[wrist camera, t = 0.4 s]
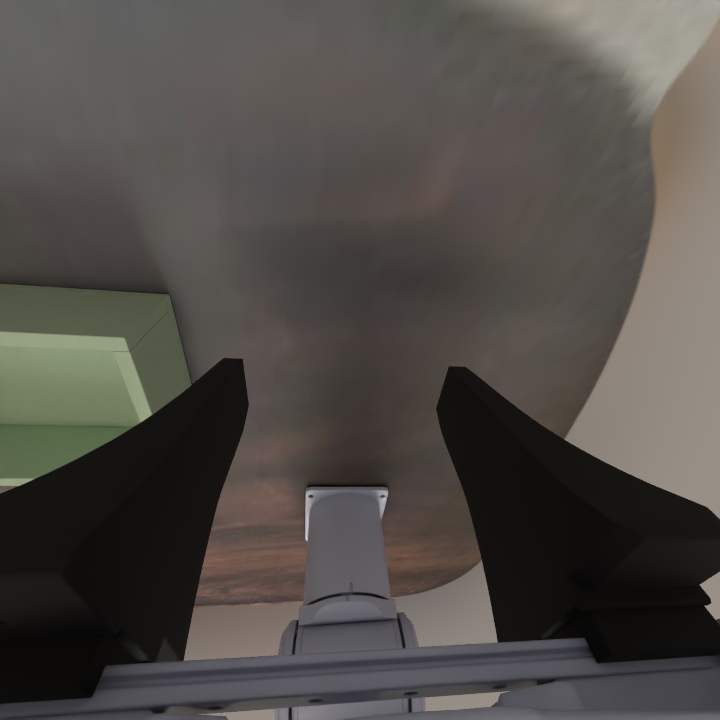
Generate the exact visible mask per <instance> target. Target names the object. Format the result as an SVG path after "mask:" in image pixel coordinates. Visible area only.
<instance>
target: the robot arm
mask: <svg viewBox="0 0 720 720" xmlns="http://www.w3.org/2000/svg"><path fill="white" fill-rule="evenodd" d="M248 406H249V403H248V395H247V388H246V381H245V374H244V366H243V359H232V358H223V359H222V360H221V361H220V362H218V363H217V364H216V365H215V366H214V367H213V368H211V369H210V370H209V371H208V372H207V373H205V374H204V375H203V376H202V377H201V378H200V379H198V380H197V381H196V382H195V383H193V384H192V385H191V386H190V387H189V388H187V389H186V390H185V391H184V392H182V393H181V394H180V395H178V396H177V397H176V398H174V399H173V400H172V401H170V402H169V403H168V404H166V405H165V406H164V407H162V408H161V409H160V410H158V411H157V412H155V413H154V414H153V415H151V416H150V417H148V418H147V419H145V420H144V421H142V422H141V423H139V424H137V425H136V426H134V427H133V428H131V429H129V430H128V431H126V432H125V433H123V434H121V435H120V436H118V437H116V438H114V439H113V440H111V441H109V442H107V443H105V444H103V445H102V446H100V447H98V448H96V449H94V450H92V451H90V452H89V453H87V454H85V455H83V456H81V457H79V458H78V459H76V460H74V461H72V462H70V463H67V464H65V465H63V466H61V467H59V468H57V469H55V470H53V471H51V472H49V473H47V474H44V475H42V476H40V477H38V478H36V479H33V480H31V481H29V482H27V483H25V484H22V485H20V486H18V487H15V488H13V489H11V490H8V491H6V492H3V493H1V494H0V720H228V719H227V717H226V716H211V715H197V714H210V713H223V712H237V711H250V710H263V709H274V720H720V619H717V620H715V619H714V618H713V616H712V615H711V614H710V613H709V611H707V609H706V608H705V606H704V605H709V604H710V603H711V599H710V597H709V596H708V595H707V594H706V593H705V591H704V590H703V589H702V588H701V586H700V584H701V583H703V582H704V581H706V580H707V579H708V578H710V577H712V576H713V575H715V574H717V573H718V572H720V519H719V518H718V517H717V516H716V515H715V514H714V513H713V512H712V511H711V510H709V509H708V508H707V507H705V506H703V505H700V504H697V503H695V502H693V501H691V500H688V499H686V498H683V497H681V496H678V495H676V494H673V493H671V492H668V491H666V490H664V489H661V488H659V487H656V486H654V485H652V484H649V483H647V482H645V481H643V480H640V479H638V478H636V477H634V476H632V475H630V474H627V473H626V472H623V471H621V470H619V469H617V468H615V467H613V466H611V465H609V464H607V463H605V462H603V461H601V460H600V459H598V458H596V457H594V456H592V455H590V454H588V453H587V452H585V451H583V450H581V449H579V448H577V447H576V446H574V445H572V444H570V443H569V442H567V441H566V440H564V439H562V438H561V437H559V436H558V435H556V434H554V433H553V432H551V431H550V430H548V429H546V428H545V427H543V426H542V425H540V424H539V423H538V422H536V421H535V420H533V419H532V418H531V417H529V416H528V415H526V414H525V413H524V412H522V411H521V410H520V409H518V408H517V407H516V406H514V405H513V404H512V403H510V402H509V401H508V400H506V399H505V398H504V397H503V396H501V395H500V394H499V393H498V392H496V391H495V390H494V389H493V388H492V387H490V386H489V385H488V384H487V383H485V382H484V381H483V380H482V379H480V378H479V377H478V376H477V375H475V374H474V373H473V372H472V371H470V370H469V369H467V368H466V367H453V366H449V368H448V371H447V374H446V378H445V381H444V384H443V388H442V391H441V395H440V398H439V401H438V405H437V408H436V410H437V415H438V419H439V424H440V428H441V432H442V435H443V438H444V441H445V443H446V446H447V449H448V451H449V454H450V457H451V459H452V462H453V464H454V467H455V470H456V472H457V475H458V477H459V480H460V482H461V485H462V488H463V491H464V494H465V497H466V500H467V503H468V507H469V510H470V514H471V518H472V521H473V525H474V529H475V533H476V537H477V541H478V546H479V550H480V554H481V558H482V562H483V567H484V572H485V576H486V581H487V585H488V590H489V596H490V601H491V606H492V612H493V617H494V623H495V628H496V634H497V640H498V643H484V644H467V645H449V646H431V647H419V646H418V641H417V637H416V633H415V630H414V627H413V624H412V622H411V621H410V620H409V619H408V618H407V617H406V615H405V614H404V613H403V612H401V613H397V612H396V604H395V600H394V599H391V596H390V588H389V580H388V571H387V563H386V555H385V547H384V539H383V531H382V523H381V520H382V516H383V512H384V508H385V504H386V501H387V497H388V489H387V488H386V487H308V488H307V489H306V497H305V540H306V541H307V556H306V572H305V587H304V602H303V606H300V608H299V621H298V620H293V621H291V622H290V623H289V625H288V627H287V628H286V630H285V631H284V632H283V634H282V638H281V642H280V647H279V653H278V656H260V657H244V658H226V659H209V660H192V661H184V655H185V649H186V644H187V639H188V634H189V628H190V623H191V618H192V613H193V608H194V603H195V598H196V594H197V589H198V584H199V579H200V575H201V570H202V565H203V561H204V557H205V553H206V548H207V544H208V540H209V535H210V531H211V527H212V523H213V519H214V515H215V511H216V507H217V504H218V500H219V497H220V494H221V491H222V488H223V485H224V482H225V480H226V477H227V474H228V471H229V469H230V466H231V463H232V460H233V458H234V455H235V452H236V449H237V447H238V444H239V441H240V438H241V435H242V432H243V429H244V425H245V420H246V416H247V411H248ZM502 691H510V692H506V693H502V694H500V696H499V699H498V702H496V703H495V704H494V705H493V706H491V707H486V708H474V709H462V710H445V711H425V697H436V696H449V695H462V694H476V693H488V692H502Z"/></svg>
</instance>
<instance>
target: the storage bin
mask: <svg viewBox="0 0 720 720" xmlns="http://www.w3.org/2000/svg"><path fill="white" fill-rule="evenodd" d="M191 385H192V384H191V380H190V376H189V372H188V368H187V364H186V360H185V356H184V352H183V348H182V344H181V340H180V336H179V332H178V328H177V323H176V319H175V315H174V311H173V307H172V303H171V299H170V295H168V294H153V293H137V292H122V291H106V290H91V289H75V288H60V287H44V286H29V285H13V284H0V486H20V485H22V484H25V483H27V482H29V481H31V480H33V479H36V478H38V477H40V476H42V475H44V474H47V473H49V472H51V471H53V470H55V469H57V468H59V467H61V466H63V465H65V464H67V463H70V462H72V461H74V460H76V459H78V458H79V457H81V456H83V455H85V454H87V453H89V452H90V451H92V450H94V449H96V448H98V447H100V446H102V445H103V444H105V443H107V442H109V441H111V440H113V439H114V438H116V437H118V436H120V435H121V434H123V433H125V432H126V431H128V430H129V429H131V428H133V427H134V426H136V425H137V424H139V423H141V422H142V421H144V420H145V419H147V418H148V417H150V416H151V415H153V414H154V413H155V412H157V411H158V410H160V409H161V408H162V407H164V406H165V405H166V404H168V403H169V402H170V401H172V400H173V399H174V398H176V397H177V396H178V395H180V394H181V393H182V392H184V391H185V390H186V389H187V388H189V387H190V386H191Z"/></svg>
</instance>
